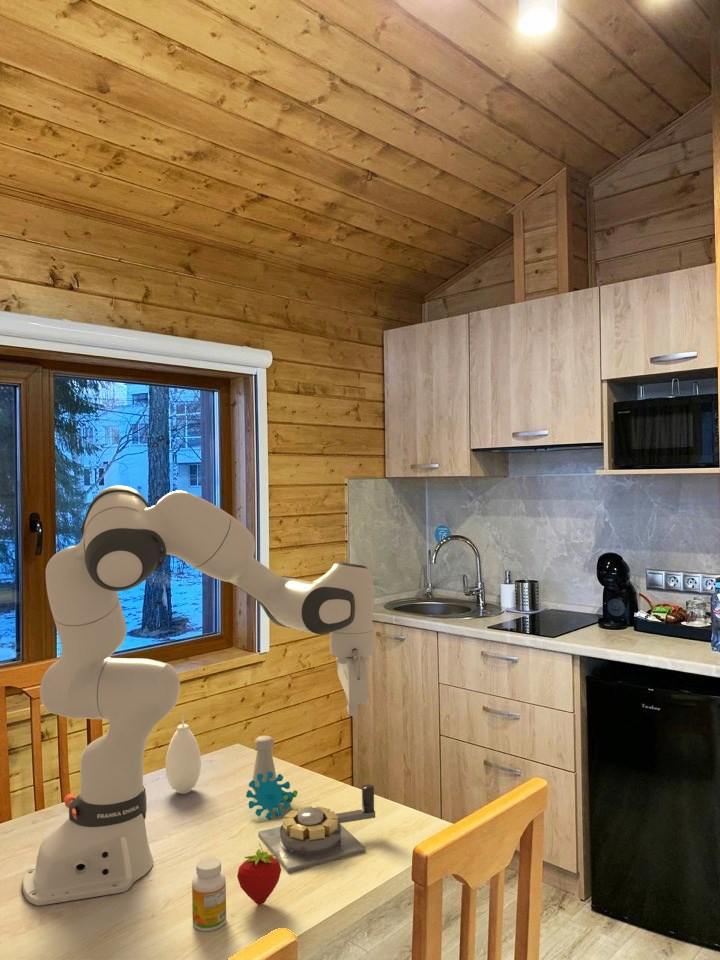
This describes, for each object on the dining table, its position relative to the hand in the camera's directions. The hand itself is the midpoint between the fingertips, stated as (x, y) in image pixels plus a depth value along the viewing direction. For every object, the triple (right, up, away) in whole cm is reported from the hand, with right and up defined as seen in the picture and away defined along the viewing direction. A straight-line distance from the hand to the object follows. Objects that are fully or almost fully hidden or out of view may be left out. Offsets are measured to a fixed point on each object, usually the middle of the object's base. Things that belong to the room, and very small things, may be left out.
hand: (352, 713), depth 150 cm
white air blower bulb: (-39, -26, +24) cm, 52 cm away
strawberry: (-16, -26, -22) cm, 37 cm away
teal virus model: (-17, -26, +13) cm, 34 cm away
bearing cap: (-8, -25, -1) cm, 27 cm away
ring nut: (-4, -22, 0) cm, 22 cm away
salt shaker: (-20, -25, +22) cm, 39 cm away
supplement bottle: (-23, -26, -27) cm, 44 cm away
